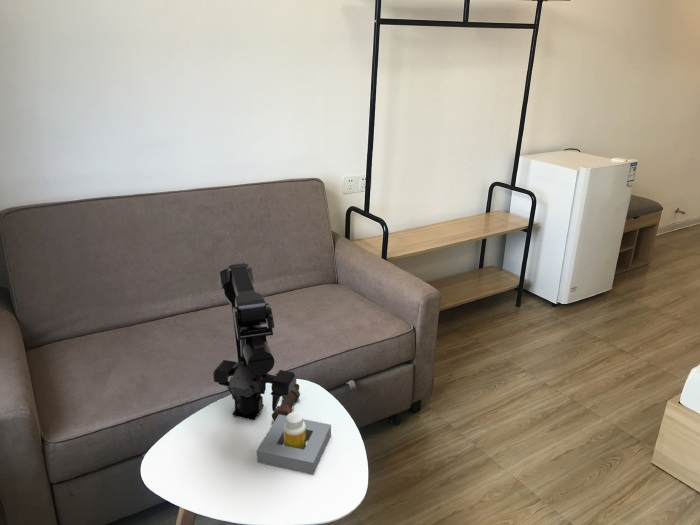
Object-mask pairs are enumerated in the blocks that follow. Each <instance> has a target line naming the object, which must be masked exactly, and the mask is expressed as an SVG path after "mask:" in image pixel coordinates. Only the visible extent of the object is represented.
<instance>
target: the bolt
mask: <svg viewBox="0 0 700 525" xmlns="http://www.w3.org/2000/svg"><path fill="white" fill-rule="evenodd" d="M300 396H301V394H300V384H298V383H297V382H296V383H295V385H294V387H293V388H292V390H291V391H290V393H289V394H288V395H284V396H281V397H282V400H281V403H280V405H277V407H276V410H275V411H272V412H273V413H272V414H271V419H272V420H273V422H274V421H275V420H276V418H277V417H278V415H279V414H280V415H285V416H287V415H288V414H290V413H292V412H293V411H292V409H293V408H294V405H295V403H296V402H297V401H298V400H299V398H300Z"/></svg>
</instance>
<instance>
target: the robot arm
mask: <svg viewBox="0 0 700 525" xmlns="http://www.w3.org/2000/svg"><path fill="white" fill-rule="evenodd" d="M226 267H227V268H224V269H223V270H221V271H219V273H218V284H219V289H220V290H222V295H223V297H224V298H225V300H226V301H227V302H228V303H229V304H230V310H231V311H230V313H231V320H232V321H231V322H232V330H233V338H234V347H235V354H236V355H235V356H236V361H233V360H227V359H223V360H222V361H221V362H220V363H219V364H218V365H217V366H216V367H215V369H214V370H213V371H212V372H213V373H212V380H213V382H214V383H218V385H220V386H223V387H225V388H227V390H228V391H229V393H230V395H231V398H232V400H233V401H234V411H233V412H232V413H231V414H232V416H233V417H236V418H237V417H238V418H242V419H247V420H252V421H255V420H256V419H257V417H258V415H260V414H261V412H262V411H263V409H264V407H265V404H264V399H263V397H264V396H262V395H265V392H266V387H267V385H266V384H271V387H270V388H271V393H270V395H271V396H272V398H271V399H272V400H271V409H272V412H274V411H275V410H276V408H277V406H279V402H280V399H281V397H282V396H284V395H288V394H289V393H290V391H291V390H292V388H293V387H294V385H295V383H296V384H297V375H296V373H295V372H293V371H290V370H289V371H288V370H283V369H279V370H278V372H277V374H273V373H269V372H270V371H271V370H273V368H274V367H275V366H274V365H275V362H276V361H275V357H274V355H273V352H272V350H271V348H270V347H271V346H270V345H269V342H268V340H267V337H269V336H273V335H274V330H273V329H275V322H274V316H273V311H272V307H271V306H270V304H269V303H268V302H266V300H265V298H264V295H262V294H261V293H258V292H257V291H256V290H255V288H254V283H255V280H254V271H253V268H252V267H251V266H249V263H245V262H244V263H234V264H233V263H232V264H230V265H227V266H226ZM266 324H267V326H262V325H266Z"/></svg>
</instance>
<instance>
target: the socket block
mask: <svg viewBox="0 0 700 525" xmlns="http://www.w3.org/2000/svg"><path fill="white" fill-rule="evenodd" d="M286 417H287V416H285V415H280V414H279V415H278V417H277V418H276V420H275V421H274V420H273V423H272V425H271V426H270V428H269V430H268V431H267V433H266V435H265V436H264V438H263V440H262V442H260V444H259V446H258V447H257V449H256V461H257V463H259V464H264V465H267V466H272V467H277V468H282V469H285V470H291V471H295V472H300V473H304V474H308V475H312V476H313V475H314V474H315V471H317V470H316V469H317V468H318V465H319V463H320V461H321V459H322V457H323V454H324V452H325V450H326V449H327V446H328V443H329V441H330V439H331V436H332V424H329V423H323V422H321V421H314V420H309V419H305V418H303V421H304V423H305V425H306V447H305V449H304V450H303V449H298V448H294V447H289V446H284V424H285V422H286Z"/></svg>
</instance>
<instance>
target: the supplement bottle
mask: <svg viewBox="0 0 700 525" xmlns="http://www.w3.org/2000/svg"><path fill="white" fill-rule="evenodd" d="M303 419H304V416H303V415H302V413H300V412H296V411H294V412H293V411H292V413H290V414H288V415H287V417H286V422H285V424H284V443H283V445H284V446H289V447H294V448H298V449H303V450H304V449H305V447H306V445H307V441H306V425H305V423H304V421H303Z"/></svg>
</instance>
